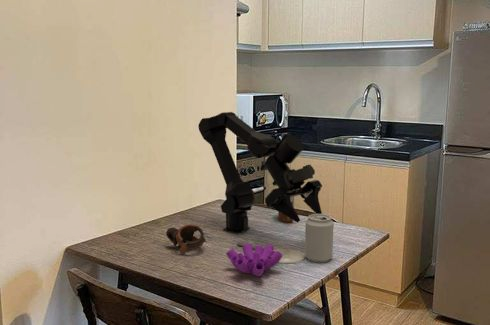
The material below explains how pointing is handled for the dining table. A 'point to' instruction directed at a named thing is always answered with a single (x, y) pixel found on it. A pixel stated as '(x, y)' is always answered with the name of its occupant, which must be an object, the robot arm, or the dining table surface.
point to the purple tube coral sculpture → (254, 259)
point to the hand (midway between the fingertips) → (309, 218)
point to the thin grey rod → (243, 244)
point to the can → (319, 237)
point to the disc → (290, 256)
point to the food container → (283, 217)
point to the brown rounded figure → (186, 238)
